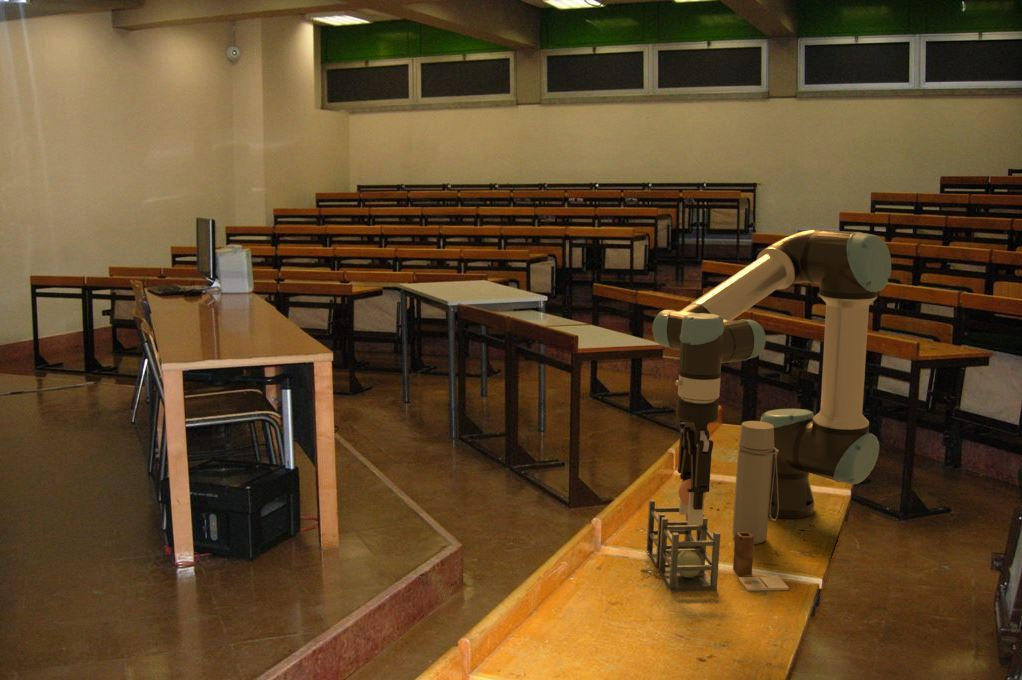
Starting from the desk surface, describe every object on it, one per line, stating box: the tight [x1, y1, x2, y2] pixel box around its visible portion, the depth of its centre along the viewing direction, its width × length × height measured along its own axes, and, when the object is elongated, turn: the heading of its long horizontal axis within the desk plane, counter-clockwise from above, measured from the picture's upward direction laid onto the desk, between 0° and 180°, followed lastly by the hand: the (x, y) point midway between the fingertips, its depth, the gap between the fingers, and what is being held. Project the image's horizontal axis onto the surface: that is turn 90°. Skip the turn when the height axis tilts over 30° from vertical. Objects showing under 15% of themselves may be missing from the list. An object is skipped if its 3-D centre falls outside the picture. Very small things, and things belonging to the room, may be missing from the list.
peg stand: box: [732, 532, 755, 576], centre depth 190 cm, size 3×3×8 cm
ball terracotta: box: [678, 479, 707, 505], centre depth 183 cm, size 5×5×5 cm
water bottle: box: [731, 420, 779, 545], centre depth 205 cm, size 9×8×25 cm
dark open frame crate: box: [658, 516, 721, 592], centre depth 185 cm, size 9×9×11 cm
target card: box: [737, 576, 790, 592], centre depth 185 cm, size 8×5×1 cm, turn 96°
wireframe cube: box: [646, 499, 705, 570], centre depth 194 cm, size 9×9×11 cm
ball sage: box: [677, 551, 702, 578], centre depth 185 cm, size 5×5×5 cm
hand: (690, 518), depth 183 cm, fingers closed on ball terracotta, 5 cm apart
